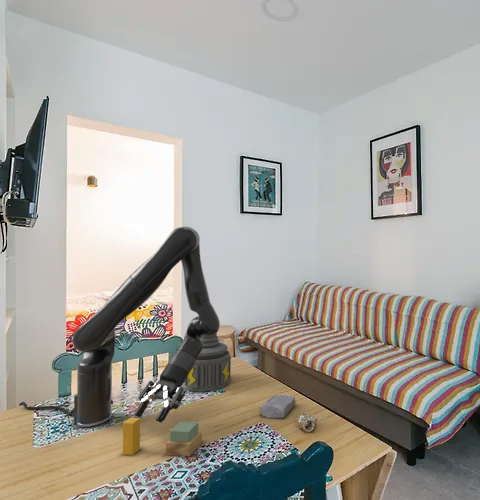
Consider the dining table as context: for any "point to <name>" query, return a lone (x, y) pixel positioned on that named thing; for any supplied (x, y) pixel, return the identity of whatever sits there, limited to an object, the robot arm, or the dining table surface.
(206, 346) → the decorative lamp
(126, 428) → the bar
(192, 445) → the tower base
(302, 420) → the ornament
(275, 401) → the stone block
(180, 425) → the block
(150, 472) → the dining table surface
